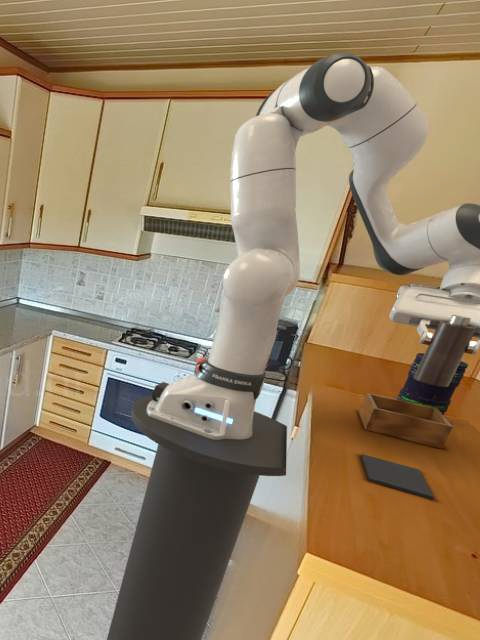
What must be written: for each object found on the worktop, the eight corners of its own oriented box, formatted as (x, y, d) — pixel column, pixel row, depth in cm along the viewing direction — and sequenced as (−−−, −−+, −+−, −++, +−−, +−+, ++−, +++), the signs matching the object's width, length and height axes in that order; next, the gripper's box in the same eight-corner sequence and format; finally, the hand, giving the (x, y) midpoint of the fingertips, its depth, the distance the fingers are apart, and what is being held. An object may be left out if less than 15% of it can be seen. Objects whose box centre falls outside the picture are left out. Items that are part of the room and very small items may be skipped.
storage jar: (403, 417, 122) (429, 360, 117) (384, 403, 131) (408, 350, 126) (451, 425, 120) (479, 368, 114) (428, 411, 129) (454, 357, 123)
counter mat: (368, 480, 88) (369, 477, 88) (360, 456, 97) (361, 453, 97) (432, 499, 83) (434, 496, 83) (417, 472, 93) (419, 469, 93)
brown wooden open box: (365, 429, 112) (374, 408, 110) (358, 411, 123) (366, 392, 121) (442, 449, 105) (453, 426, 103) (427, 428, 116) (437, 408, 114)
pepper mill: (406, 376, 97) (435, 312, 92) (426, 377, 98) (456, 314, 93) (434, 386, 92) (466, 319, 87) (455, 387, 93) (488, 321, 88)
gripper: (405, 271, 99) (382, 323, 96) (552, 291, 87) (532, 352, 83) (397, 292, 104) (375, 342, 100) (535, 314, 91) (515, 372, 88)
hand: (447, 347), depth 92 cm, fingers closed on pepper mill, 5 cm apart
